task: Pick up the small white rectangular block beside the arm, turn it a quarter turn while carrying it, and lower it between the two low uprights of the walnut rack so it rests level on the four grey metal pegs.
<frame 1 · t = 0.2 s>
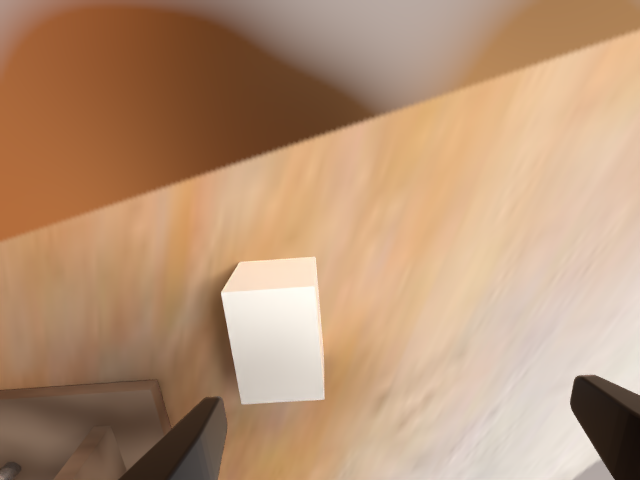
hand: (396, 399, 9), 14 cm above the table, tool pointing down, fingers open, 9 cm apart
white rectangular block: (283, 308, 23), on the table
rack: (60, 467, 28), on the table
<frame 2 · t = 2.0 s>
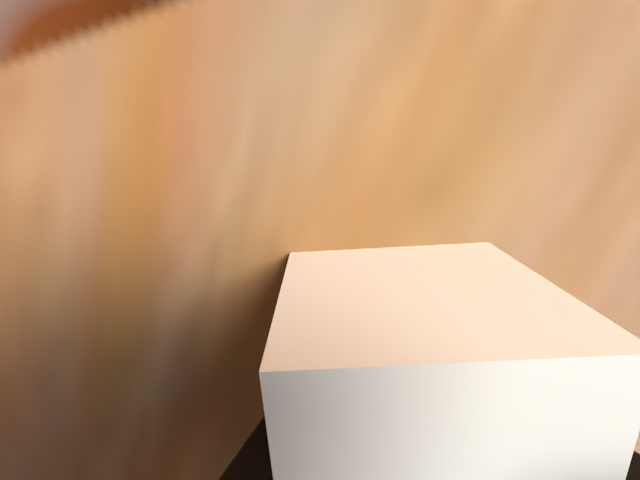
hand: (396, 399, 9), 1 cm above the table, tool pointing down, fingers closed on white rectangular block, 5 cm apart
white rectangular block: (388, 371, 10), on the table, touching gripper
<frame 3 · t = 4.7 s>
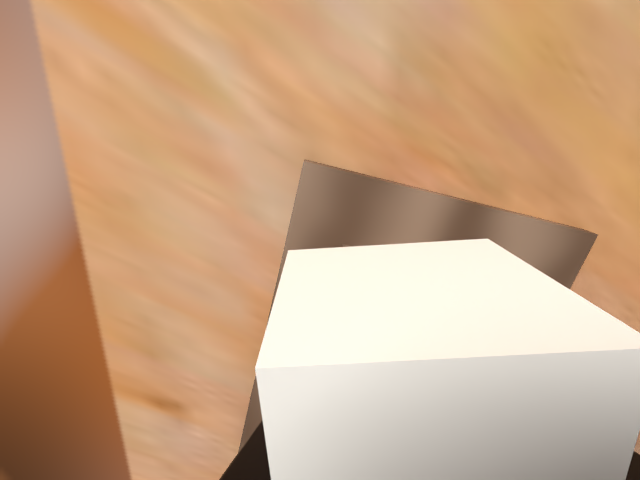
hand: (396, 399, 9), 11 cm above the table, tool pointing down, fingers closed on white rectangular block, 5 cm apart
white rectangular block: (387, 369, 10), point 10 cm above the table, touching gripper
rack: (392, 348, 21), on the table
when the fingers open (5 cm above the table, at t = 7.4 s): white rectangular block drops 1 cm, resting on rack.
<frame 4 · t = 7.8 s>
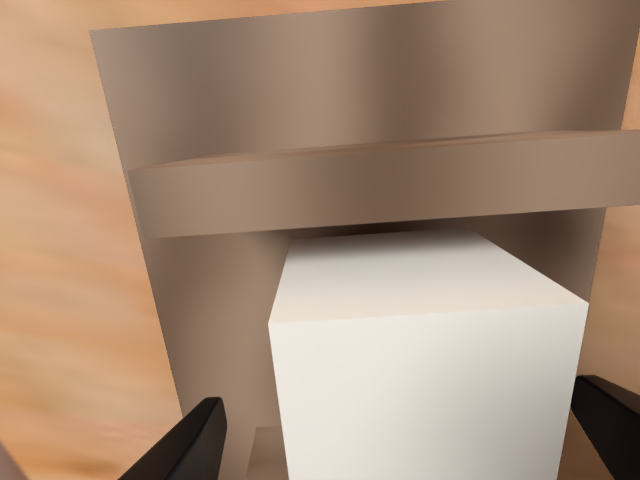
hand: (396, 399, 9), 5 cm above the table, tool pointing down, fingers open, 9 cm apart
white rectangular block: (381, 346, 11), point 3 cm above the table, touching rack
rack: (368, 303, 14), on the table
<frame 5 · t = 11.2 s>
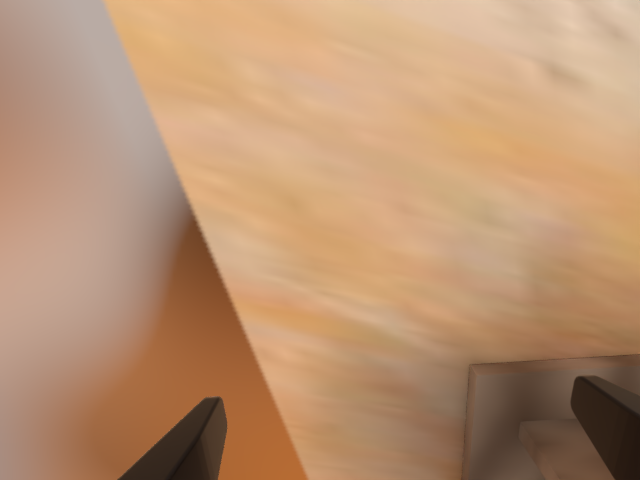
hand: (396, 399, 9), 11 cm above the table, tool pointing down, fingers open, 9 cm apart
rack: (573, 475, 24), on the table
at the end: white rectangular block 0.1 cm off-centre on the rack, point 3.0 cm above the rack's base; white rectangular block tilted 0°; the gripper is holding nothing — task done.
